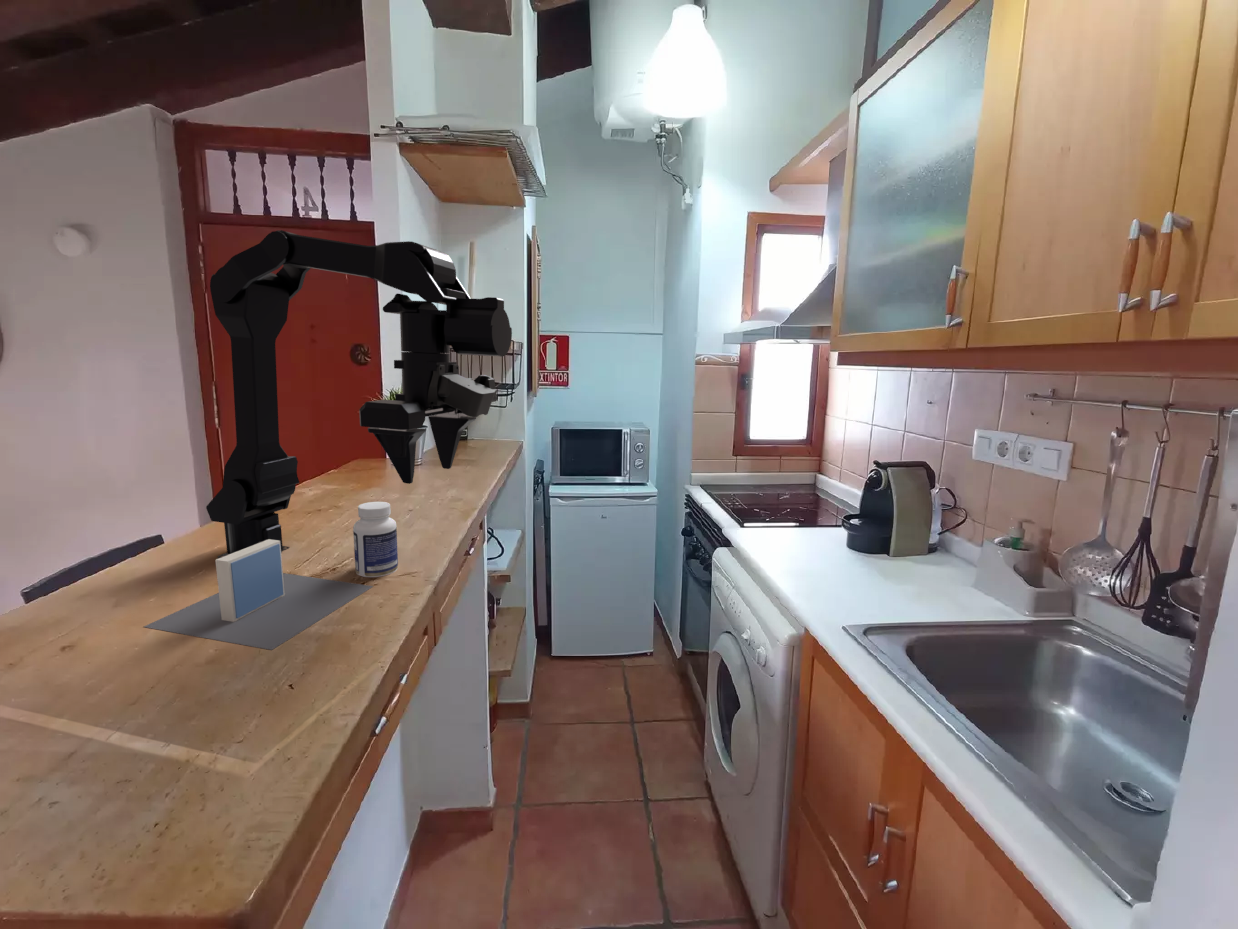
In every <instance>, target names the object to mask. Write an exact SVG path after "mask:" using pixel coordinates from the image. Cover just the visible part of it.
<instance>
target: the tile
mask: <svg viewBox="0 0 1238 929" xmlns="http://www.w3.org/2000/svg"><path fill="white" fill-rule="evenodd" d="M220 557H221V558H216V559H215V570H216V578H217V587H218V593H219V599H220V608H221V617H222V620H225V621H231V622H235V621H237V620H239V619H241V618H243V617H244V616H246V615H248V614H250V613H252V612H254V611H256V610H258V609H260V608H262V607H264V606H265V605H267V604H269V603H271V602H273V601H275V600H277V599H279V598H281V597H283V596H285V594H284V581H283V573H284V572H283V560H282V559H283V558H282V552H281V544H280V541H279V540H271V539H268V540H265V541H263V542H260V543H258V544H255V545H252V546H250V547H247V548H245V549H242V550H239V551H237V552H234V553H232V554H229V555H227V556H224V557H223V556H220Z"/></svg>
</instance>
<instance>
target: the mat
mask: <svg viewBox="0 0 1238 929" xmlns="http://www.w3.org/2000/svg"><path fill="white" fill-rule="evenodd" d="M283 581H284V594H285V596H283V597H281V598H279V599H277V600H275V601H273V602H271V603H269V604H267V605H265V606H264V607H262V608H260V609H258V610H256V611H254V612H252V613H250V614H248V615H246V616H244V617H243V618H241V619H239V620H237V621H235V622H231V621H225V620H222V617H221V608H220V599H219V592H217V593H214V594H212V595H210V596H208V597H206V598H203V599H202V600H199V601H196V602H195V603H192V604H190V605H188V606H186V607H183V608H181V609H180V610H178V611H175V612H173V613H170V614H168V615H165V616H164V617H162V618H159V619H157V620H154V621H153V622H151V623H149V624H147V625H144V626H143V628H147V629H150V630H158V631H162V632H163V631H164V632H169V633H174V634H179V635H184V636H185V635H186V636H190V637H196V638H201V639H207V640H213V641H219V642H225V643H229V644H235V645H241V646H246V647H251V648H257V649H263V650H268V651H273V650H274V649H276V648H279V646H282V645H283V644H284V643H286V642H288V641H289V640H291V639H293V637H295V636H297V635H298V634H300V633H301V632H303V631H304V630H307V629H308V628H310V627H311V626H313V625H315V624H317V623H318V622H319V621H320V620H323V619H324V618H325V617H328V616H329V615H330V614H332V613H334V612H335V611H337V610H338V609H340V608H341V607H344V606H345V605H346V604H348V603H349V602H351V601H353V600H354V599H356V598H358V597H359V596H361V595H363V594H364V593H366V592H367V591H369V590H370V589H372V588H373V587H374V586H373V585H369V584H368V585H367V584H362V583H355V582H348V581H347V582H346V581H340V580H333V579H327V578H320V577H312V576H306V575H300V574H299V575H298V574H293V573H286V572H285V573H284V572H283Z"/></svg>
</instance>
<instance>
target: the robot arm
mask: <svg viewBox="0 0 1238 929" xmlns="http://www.w3.org/2000/svg"><path fill="white" fill-rule="evenodd" d="M279 268H281V269H279ZM278 269H279V270H278ZM311 269H314V270H315V269H316V270H321V271H327V272H332V273H338V274H343V275H350V276H356V277H362V278H369V279H373V280H375V281H378V282H379V283H381V284H383V285H386V286H388V287H390V288H393V289H396V290H399V291H401V292H404V293H408V294H413V295H416V296H419V297H420V298H422V299H423V300H412V299H411V298H410V297H409V296H408V295H407V294H402V293H399V292H398V293H395V295H394V297H393V298H392V299H391V300H389V302H387V303H386V304H385V305H383V307H382V311H383V312H384V313H387V314H388V313H389V314H396V315H399V322H400V324H399V327H400V328H399V329H400V355H401V357H400V358H401V359H394V360H393V369H396V370H397V369H398V370H401V385H402V386H401V388H402V392H400V393H395V394H394V399H395V400H393V399H379V400H371V401H370V400H369V401H366V402H364V403H363V404H362V406H361V407H360V408H359V409H358V411H359V412H358V413H359V426H360V427H361V428H363V427H365V428H367V432H368V433H369V434H373V435H374V437H375V439H376V441H378V443H379V445H381V447H382V449H383V450H384V451H385V453H386V455H387V457H388V459H389V461H390V462H391V463H392V465H393V467H394V469H395V471H396V472H397V474H398V475H399V478H400V480H401V482H402V483H404V484H408V485H409V484H413V482H414V476H415V466H416V448H417V441H418V440H419V439H421V437H422V436H423V435H424V433H425V432H426V431H427V429H426V428H422V427H423V425H424V423H425V421H426V417H428V421H429V424H430V425H429V426H430V429H431V433H432V436H433V439H434V444H435V447H436V451H437V454H438V458H439V462H440V465H441V467H442V469H445V470H450V469H451V468H452V467H453V462H454V460H455V457H456V453H457V451H458V450H457V449H458V446H459V442H460V439H461V437H462V434H463V431H464V430H465V429H466V428H467V427H468V426H469V425H470V424H471V423H473V422H475V421H476V420H477V418H478V417H479V416H481V415H484V416H488V414H489V412H490V409H491V406H492V403H496V402H497V401H498V395H497V393H498V389H496V380H495V378H493V377H492V376H489V375H486V374H480V375H478V376H476V378H475V379H473V378H472V377H465V376H463V375H461V374H460V371H459V370H460V367H459V364H458V363H457V361H451V354H450V353H451V351H450V350H451V348H452V350H453V351H454V352H455V354H458V355H465V356H466V355H467V356H484V357H485V356H486V357H502V358H503V357H505V356H506V355H507V354H508V352H509V351H510V349H511V344H512V336H513V335H512V334H513V332H512V331H513V329H512V327H511V323H510V319H509V317H508V314H507V311H506V310H505V300H504V299H503V298H501V297H500V298H498V297H492V296H491V297H484V298H483V297H482V298H471V297H470V295H469V293H468V291H467V290H466V289H465V287H464V286H463V284H462V283H461V281H460V280H459V278H458V276H457V270H456V266H455V263H454V262H453V260H452V258H451V257H450V255H448V254H447V253H446V252H444V251H441V250H437V249H435V248H433V247H429V246H427V245H424V244H421V243H417V242H414V241H410V240H409V241H392V242H391V241H390V242H383V243H380V244H377V245H376V244H375V245H365V244H357V243H352V242H345V241H339V240H338V241H337V240H332V239H327V238H319V237H313V236H308V235H307V236H306V235H301V234H300V235H299V234H298V233H293V232H289V231H286V230H282V229H280V230H279V229H277V230H274V231H271V232H269V233H268V234H267V235H266V236H264V238H263V239H262V240H261V241H260V242H259V243H257V244H255V245H253V246H251V247H249V248H247V249H244V250H243V251H240V252H239V253H237V254H235V255H233V256H232V257H230V258H229V260H228V261H227V262H226V263H225V264H224V265H223V266H221V267H220V268H218V269H217V271H216V272H215V273H214V274H212V275H211V277H210V282H209V290H210V294H211V301H212V304H213V305H212V306H213V311H214V314H215V317H216V318H217V320H218V321H219V322H220V324H221V325H222V327H223V329H224V330H225V332H226V333H227V335H228V336H229V339H230V347H231V348H230V349H231V350H230V351H231V366H232V367H231V368H232V369H231V370H232V383H233V384H232V386H233V401H234V405H233V406H234V421H235V423H234V424H235V438H236V444H235V447H234V449H233V451H232V452H231V454H230V456H229V457H228V460H227V461H226V463H225V465H224V469H223V478H222V479H223V480H222V488H220V490H219V491H218V492H216V495H215V496H214V497H213V498H212V499H211V500H210V501H209V503H208V504H207V505H206V507H205V509H206V511H207V514H208V515H209V516H208V517H209V519H210V521H211V522H215V523H223V524H224V536H225V544H226V545H225V546H226V552H225V553H222V554H219V555H218V556H217V559H219V558H221V557H224V556H227V555H229V554H232V553H234V552H237V551H239V550H242V549H245V548H247V547H250V546H252V545H255V544H258V543H260V542H263V541H265V540H268V539H271V540H279V541H280V544H281V553H283V552H284V551H286V550H289V549H290V546H285V545H283V533H282V525H281V524H280V521H279V513H278V511H282V510H286V509H288V508H289V504H290V501H291V497H292V495H294V493H295V492H296V487H297V486H296V485H297V484H300V479H299V477H298V464H299V463H298V462H299V461H298V458H297V456H294V455H293V456H292V455H291V456H289V455H288V454H287V453H286V451H285V450H284V449H283V447H282V445H281V443H280V429H279V428H280V426H279V405H278V404H279V403H278V399H279V398H278V382H277V380H278V379H277V353H276V340H277V338H278V336H279V335H280V333H281V331H282V330H283V328H284V327H285V324H286V323H287V320H288V313H289V304H290V303H289V302H290V301H291V299H293V298H294V297H295V296H296V295H297V294H298V293H299V291H301V290H302V288H303V285H304V281H305V277H306V274H307V273H308V271H310V270H311ZM276 270H278V272H277V273H276V274H275V273H274V272H275V271H276ZM435 304H439V305H440V304H441V305H445V306H446V309H445V310H443V309H440V310H439V309H438V307H437V306H436V305H435ZM276 512H277V513H276Z"/></svg>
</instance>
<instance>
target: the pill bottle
mask: <svg viewBox="0 0 1238 929" xmlns="http://www.w3.org/2000/svg"><path fill="white" fill-rule="evenodd" d="M357 511H358V512H357V513H358V514H357V516H358V518H360V519H359V520H357V521H355V523H354V525H353V527H352V528H353V530H352V532H353V533H352V535H353V551H354V566H355V568H354V569H355V570H354V571H355V573H356V575H357V576H361V577H364V578H379V577H385V576H388V575H392V574H394V573H395V572H397V570H398V569H399V561H398V560H399V558H398V556H399V554H398V531H397V530H398V529H397V522H396V520H395V519H393V518H392V517H390V516H391V504H390V503H389V502H386V501H368V502H364V503H360V504H359V505H358V507H357Z"/></svg>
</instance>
